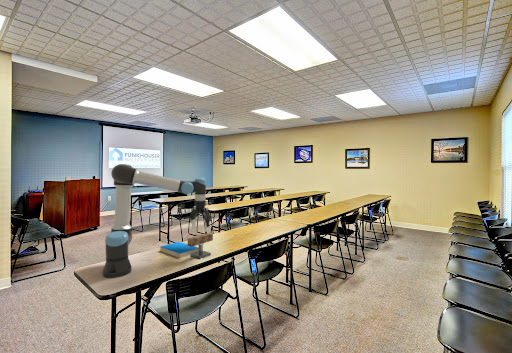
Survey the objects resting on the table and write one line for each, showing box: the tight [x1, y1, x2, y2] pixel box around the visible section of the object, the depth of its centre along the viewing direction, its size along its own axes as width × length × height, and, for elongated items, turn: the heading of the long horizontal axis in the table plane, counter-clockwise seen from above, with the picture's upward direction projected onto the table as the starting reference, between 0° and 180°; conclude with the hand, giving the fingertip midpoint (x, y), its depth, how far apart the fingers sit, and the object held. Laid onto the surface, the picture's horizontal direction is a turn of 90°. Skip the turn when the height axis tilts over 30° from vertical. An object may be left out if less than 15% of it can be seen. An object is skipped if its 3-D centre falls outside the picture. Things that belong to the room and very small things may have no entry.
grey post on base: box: [190, 243, 212, 260], centre depth 178 cm, size 10×10×9 cm
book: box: [160, 241, 199, 259], centre depth 187 cm, size 17×4×25 cm
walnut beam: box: [187, 232, 214, 247], centre depth 178 cm, size 20×4×5 cm, turn 144°
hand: (200, 230), depth 178 cm, fingers open, 13 cm apart
